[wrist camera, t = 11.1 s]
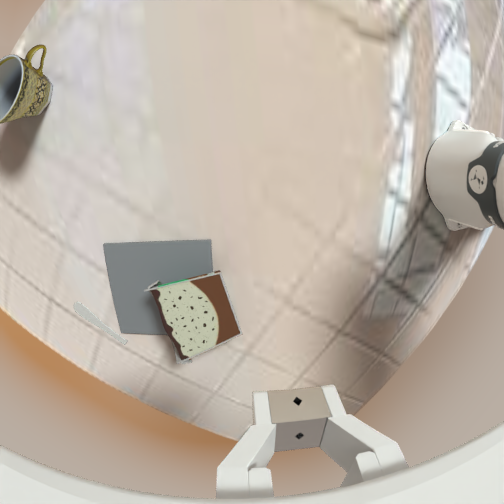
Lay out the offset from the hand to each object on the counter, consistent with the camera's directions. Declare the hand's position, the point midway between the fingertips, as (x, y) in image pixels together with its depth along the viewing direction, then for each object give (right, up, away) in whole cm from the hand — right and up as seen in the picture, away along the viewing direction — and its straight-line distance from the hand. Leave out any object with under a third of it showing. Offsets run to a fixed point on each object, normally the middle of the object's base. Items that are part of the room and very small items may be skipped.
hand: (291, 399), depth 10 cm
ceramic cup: (-34, +31, +21) cm, 50 cm away
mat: (-15, 0, +32) cm, 35 cm away
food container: (-5, -1, +31) cm, 31 cm away
